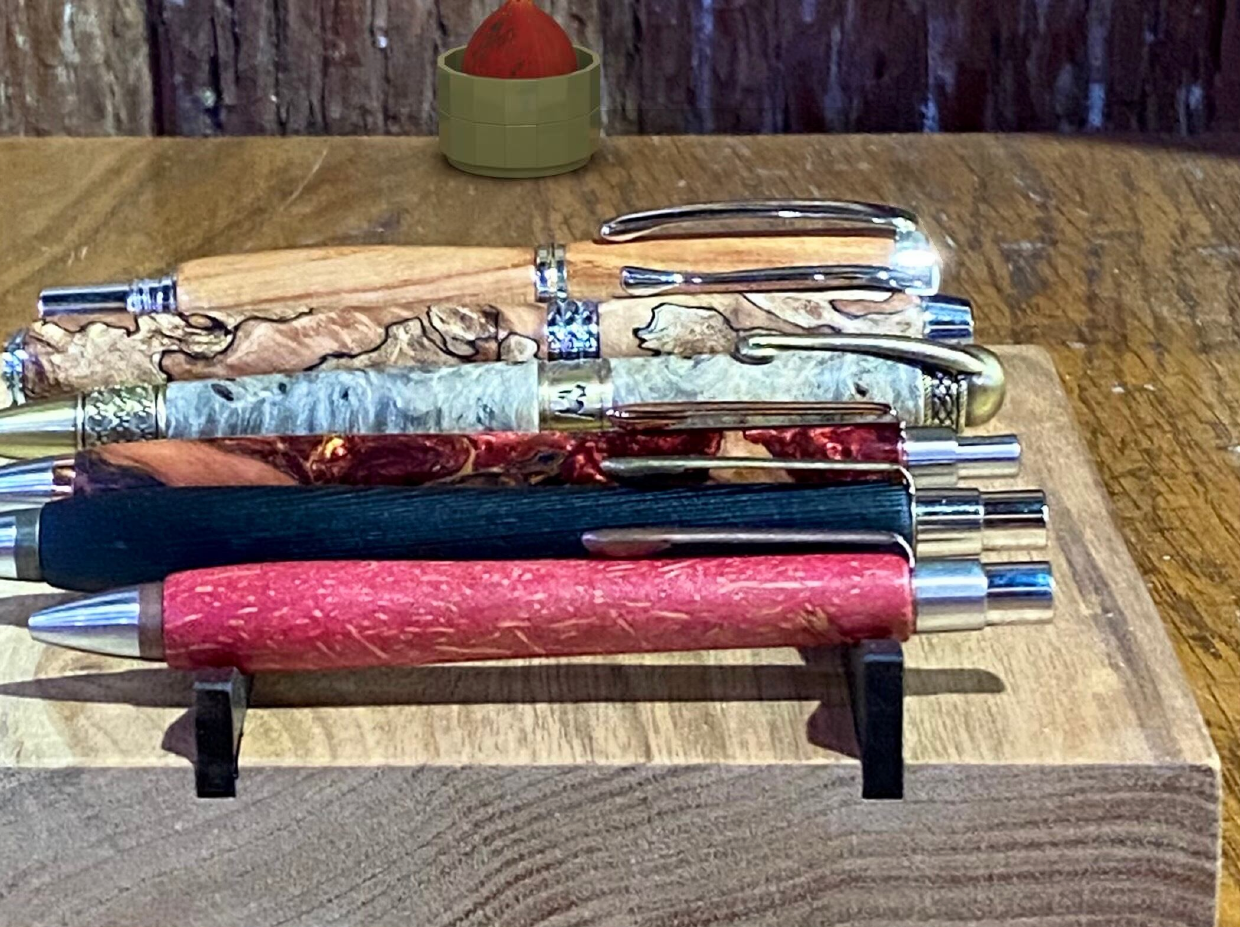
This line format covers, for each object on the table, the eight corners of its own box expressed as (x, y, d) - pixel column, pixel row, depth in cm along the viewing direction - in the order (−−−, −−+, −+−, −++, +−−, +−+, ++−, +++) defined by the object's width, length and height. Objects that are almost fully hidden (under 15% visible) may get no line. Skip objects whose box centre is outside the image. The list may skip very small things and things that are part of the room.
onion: (514, 169, 111) (513, 6, 108) (439, 145, 115) (436, -14, 112) (600, 146, 115) (602, -13, 111) (524, 123, 119) (524, -31, 115)
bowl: (594, 133, 119) (595, 38, 116) (603, 179, 112) (604, 79, 109) (440, 136, 119) (438, 41, 117) (439, 182, 112) (436, 82, 109)
